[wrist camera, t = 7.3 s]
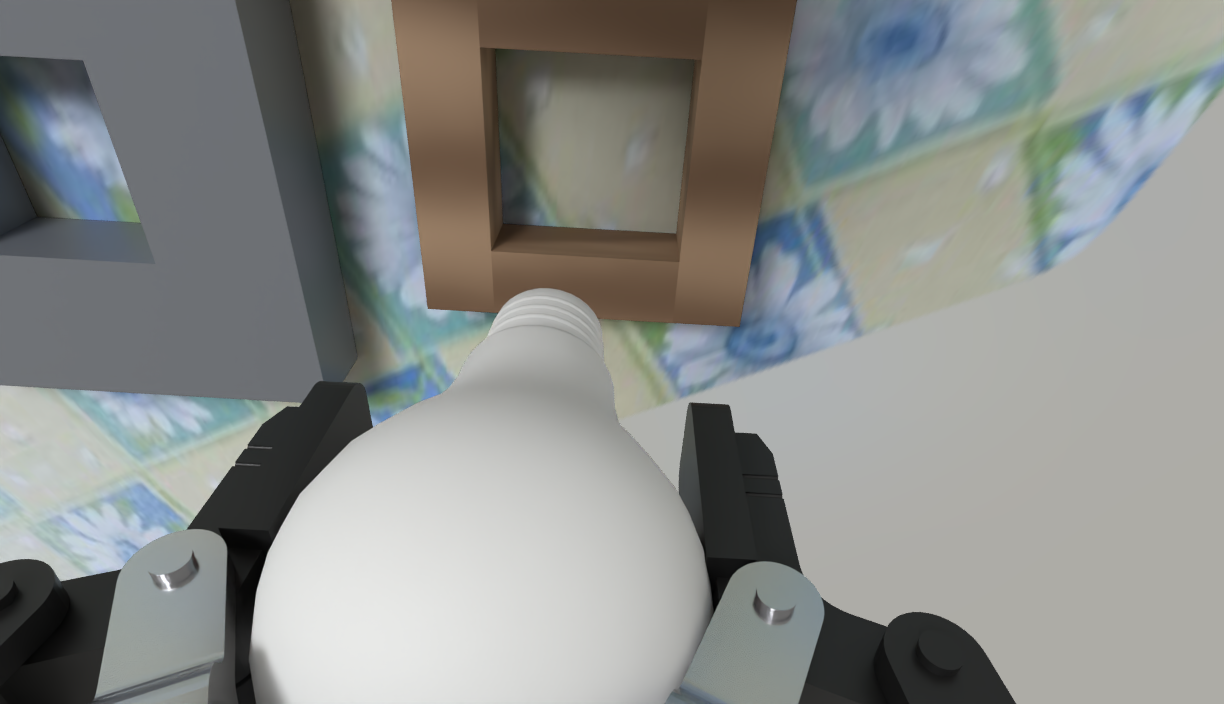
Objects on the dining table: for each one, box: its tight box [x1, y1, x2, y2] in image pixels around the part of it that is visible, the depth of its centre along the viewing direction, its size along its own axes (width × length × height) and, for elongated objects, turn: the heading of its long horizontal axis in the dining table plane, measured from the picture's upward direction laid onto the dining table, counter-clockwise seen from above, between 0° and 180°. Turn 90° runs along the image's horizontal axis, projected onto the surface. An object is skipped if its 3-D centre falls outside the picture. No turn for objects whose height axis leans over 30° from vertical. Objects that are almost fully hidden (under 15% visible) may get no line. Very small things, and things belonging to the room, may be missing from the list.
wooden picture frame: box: [391, 0, 797, 327], centre depth 28 cm, size 14×14×3 cm
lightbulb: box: [249, 288, 714, 704], centre depth 12 cm, size 6×6×11 cm
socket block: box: [0, 0, 358, 403], centre depth 28 cm, size 22×20×5 cm
